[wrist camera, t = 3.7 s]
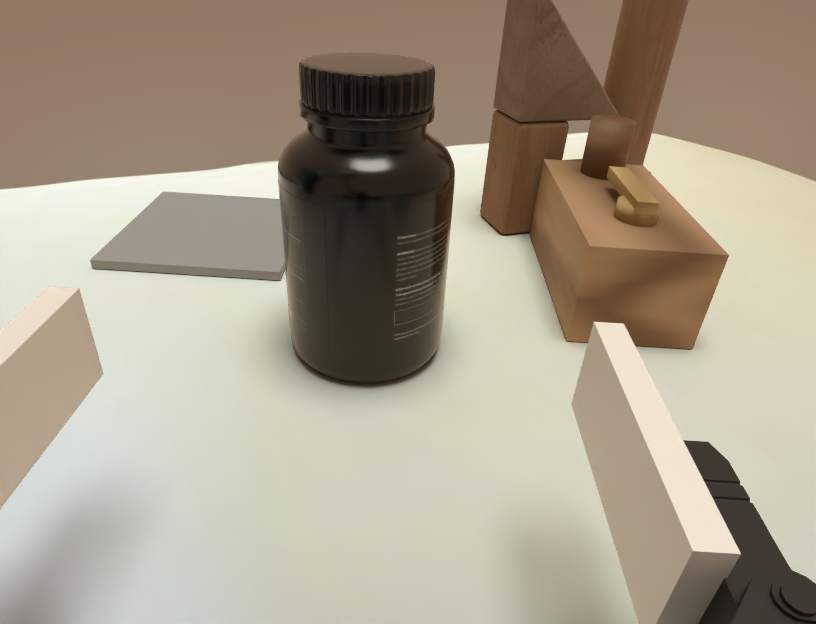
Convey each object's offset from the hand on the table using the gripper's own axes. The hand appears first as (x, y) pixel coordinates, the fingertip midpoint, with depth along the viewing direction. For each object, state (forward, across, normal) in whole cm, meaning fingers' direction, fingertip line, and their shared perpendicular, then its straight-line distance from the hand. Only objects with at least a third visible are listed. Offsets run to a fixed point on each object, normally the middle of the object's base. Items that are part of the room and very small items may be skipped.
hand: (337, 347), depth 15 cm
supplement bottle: (+10, 0, -7) cm, 12 cm away
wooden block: (+26, +12, -7) cm, 29 cm away
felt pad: (+20, -10, -6) cm, 23 cm away
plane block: (+17, +12, -6) cm, 22 cm away
